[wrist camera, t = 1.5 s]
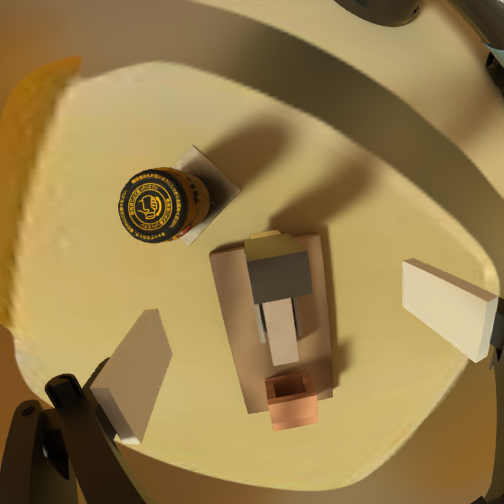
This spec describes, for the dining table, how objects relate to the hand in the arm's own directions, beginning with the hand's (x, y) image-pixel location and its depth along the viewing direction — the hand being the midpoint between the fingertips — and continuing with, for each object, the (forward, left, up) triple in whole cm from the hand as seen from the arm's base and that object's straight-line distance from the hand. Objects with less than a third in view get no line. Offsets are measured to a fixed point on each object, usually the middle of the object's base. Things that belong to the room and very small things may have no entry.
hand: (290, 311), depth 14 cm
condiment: (+7, -7, -18) cm, 21 cm away
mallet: (0, +5, -16) cm, 17 cm away
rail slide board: (0, +11, -18) cm, 21 cm away
